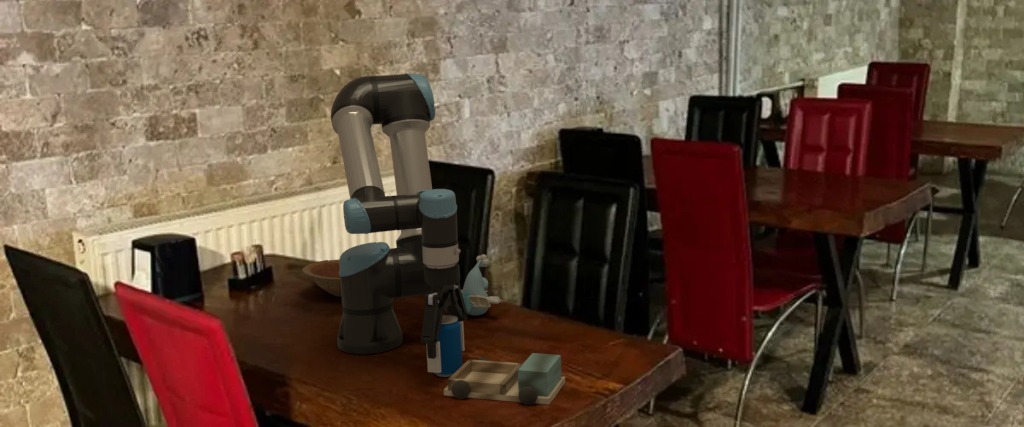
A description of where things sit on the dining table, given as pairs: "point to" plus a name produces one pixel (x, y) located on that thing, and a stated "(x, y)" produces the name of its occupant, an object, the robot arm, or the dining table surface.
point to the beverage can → (450, 346)
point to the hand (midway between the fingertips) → (446, 360)
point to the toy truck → (509, 380)
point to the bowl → (325, 275)
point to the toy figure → (477, 290)
